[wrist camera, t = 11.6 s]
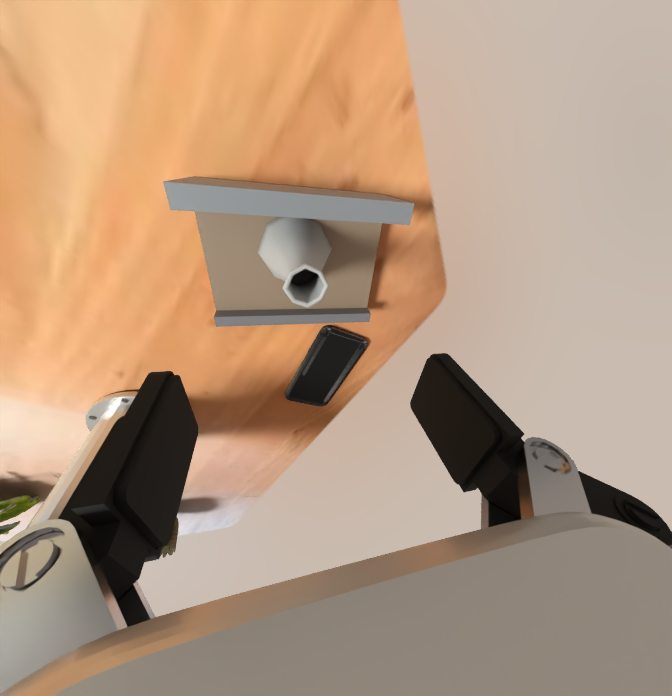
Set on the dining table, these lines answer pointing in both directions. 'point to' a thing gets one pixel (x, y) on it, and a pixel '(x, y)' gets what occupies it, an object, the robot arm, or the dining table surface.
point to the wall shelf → (246, 234)
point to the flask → (297, 257)
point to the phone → (325, 366)
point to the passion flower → (15, 510)
